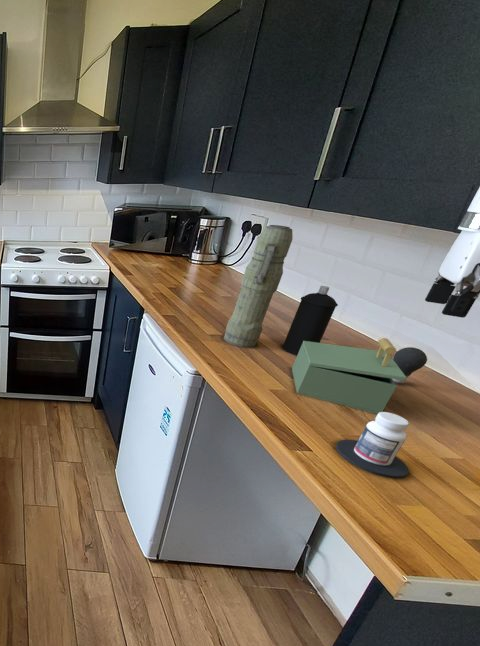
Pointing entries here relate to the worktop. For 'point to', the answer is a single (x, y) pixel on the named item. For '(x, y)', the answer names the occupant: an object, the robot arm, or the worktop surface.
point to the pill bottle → (382, 439)
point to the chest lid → (355, 359)
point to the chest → (342, 386)
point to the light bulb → (409, 361)
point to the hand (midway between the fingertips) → (443, 308)
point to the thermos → (258, 286)
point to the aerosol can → (310, 320)
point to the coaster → (390, 471)
